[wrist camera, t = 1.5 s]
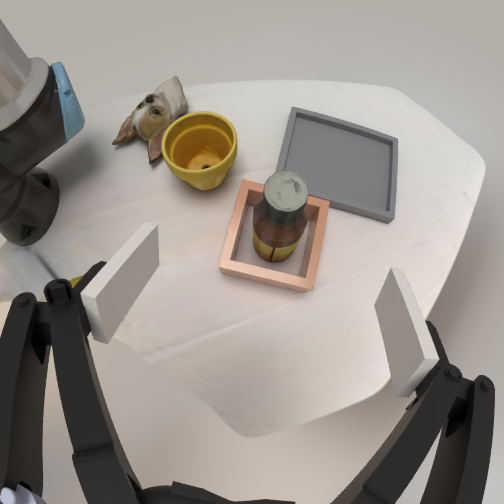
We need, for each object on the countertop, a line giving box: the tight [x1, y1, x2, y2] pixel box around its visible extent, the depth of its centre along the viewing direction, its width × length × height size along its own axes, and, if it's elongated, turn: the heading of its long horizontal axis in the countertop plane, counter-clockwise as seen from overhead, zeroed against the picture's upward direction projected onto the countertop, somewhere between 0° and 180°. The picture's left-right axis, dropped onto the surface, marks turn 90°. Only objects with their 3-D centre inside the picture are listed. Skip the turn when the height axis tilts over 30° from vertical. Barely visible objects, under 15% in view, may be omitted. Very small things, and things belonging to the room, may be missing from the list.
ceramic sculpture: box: [112, 76, 188, 165], centre depth 46 cm, size 11×9×15 cm
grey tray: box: [276, 107, 398, 224], centre depth 48 cm, size 20×16×2 cm
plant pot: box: [161, 111, 237, 190], centre depth 43 cm, size 10×10×10 cm
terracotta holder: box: [218, 180, 330, 293], centre depth 43 cm, size 12×12×6 cm
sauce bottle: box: [253, 171, 308, 262], centre depth 36 cm, size 6×6×20 cm
